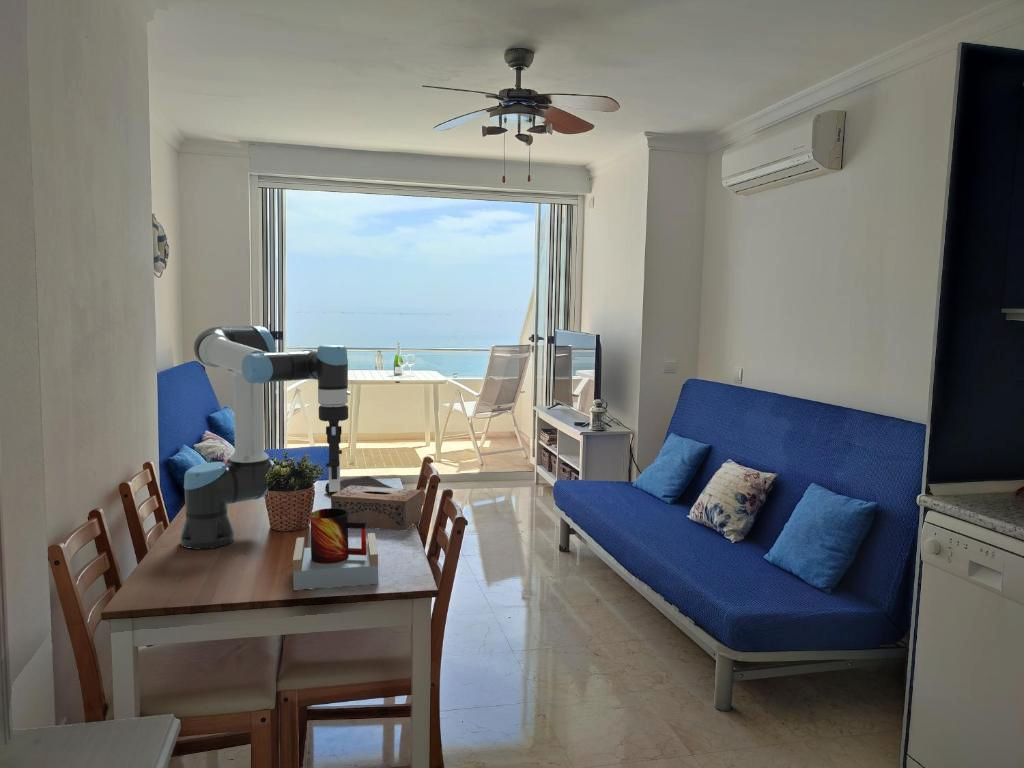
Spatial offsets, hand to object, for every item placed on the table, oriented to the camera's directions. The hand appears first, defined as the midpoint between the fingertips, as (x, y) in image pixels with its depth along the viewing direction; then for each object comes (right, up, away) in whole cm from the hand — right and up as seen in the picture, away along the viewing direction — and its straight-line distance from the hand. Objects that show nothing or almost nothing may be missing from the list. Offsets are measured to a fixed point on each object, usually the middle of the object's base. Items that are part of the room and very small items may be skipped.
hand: (334, 484), depth 195 cm
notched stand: (0, -24, +3) cm, 25 cm away
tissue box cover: (+2, -20, +51) cm, 55 cm away
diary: (-9, -16, +82) cm, 84 cm away
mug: (0, -20, +2) cm, 20 cm away
